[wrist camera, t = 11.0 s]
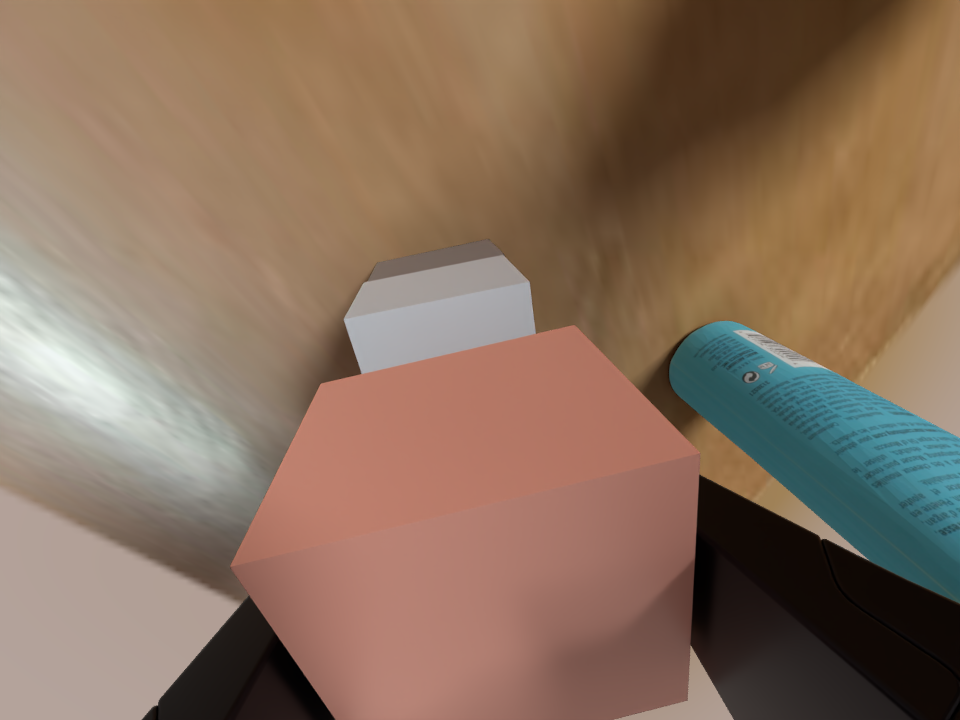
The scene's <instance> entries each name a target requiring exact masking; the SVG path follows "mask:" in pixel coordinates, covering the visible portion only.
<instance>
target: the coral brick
mask: <svg viewBox="0 0 960 720" xmlns="http://www.w3.org/2000/svg"><path fill="white" fill-rule="evenodd" d="M699 469H700V452H699V451H698V450H697V449H696V448H695V447H694V446H693V445H692V444H691V443H690V442H689V441H688V440H687V439H686V438H685V437H684V436H683V435H682V434H681V433H680V432H679V431H678V430H677V429H676V428H675V427H674V426H673V425H672V424H671V423H670V422H669V421H668V420H667V419H666V418H665V417H664V416H663V415H662V414H661V412H660V411H659V410H658V409H657V408H656V407H655V406H654V405H653V404H652V403H651V402H650V401H649V400H648V399H647V398H646V397H645V396H644V395H643V394H642V393H641V392H640V391H639V390H638V389H637V388H636V387H635V386H634V385H633V384H632V383H631V382H630V381H629V380H628V379H627V378H626V377H625V376H624V375H623V374H622V373H621V372H620V371H619V370H618V369H617V368H616V367H615V365H614V364H613V363H612V362H611V361H610V360H609V359H608V358H607V357H606V356H605V355H604V354H603V353H602V352H601V351H600V350H599V349H598V348H597V347H596V346H595V345H594V344H593V343H592V342H591V341H590V340H589V339H588V338H587V337H586V336H585V335H584V334H583V333H582V332H581V331H580V330H579V329H578V328H577V327H576V326H575V325H572V326H567V327H563V328H559V329H555V330H550V331H546V332H542V333H537V334H533V335H529V336H524V337H520V338H516V339H511V340H507V341H503V342H498V343H494V344H490V345H485V346H481V347H477V348H472V349H468V350H464V351H459V352H455V353H451V354H446V355H442V356H438V357H433V358H429V359H425V360H421V361H416V362H412V363H408V364H403V365H399V366H395V367H390V368H386V369H382V370H377V371H373V372H369V373H364V374H360V375H356V376H351V377H347V378H343V379H338V380H334V381H330V382H325V383H321V384H320V386H319V388H318V390H317V392H316V394H315V396H314V398H313V400H312V402H311V404H310V406H309V408H308V410H307V412H306V414H305V416H304V418H303V420H302V422H301V424H300V426H299V428H298V431H297V433H296V435H295V437H294V439H293V441H292V443H291V445H290V447H289V449H288V451H287V453H286V455H285V457H284V459H283V461H282V463H281V465H280V467H279V469H278V471H277V473H276V475H275V477H274V479H273V481H272V483H271V485H270V487H269V489H268V491H267V493H266V495H265V497H264V499H263V501H262V503H261V505H260V507H259V509H258V511H257V513H256V515H255V517H254V519H253V521H252V523H251V525H250V527H249V529H248V531H247V533H246V535H245V537H244V539H243V541H242V543H241V545H240V547H239V549H238V551H237V553H236V555H235V557H234V559H233V561H232V563H231V565H230V568H231V570H232V571H233V572H234V574H235V575H236V577H237V578H238V580H239V581H240V583H241V584H242V585H243V587H244V588H245V590H246V591H247V593H248V594H249V596H250V597H251V598H252V600H253V601H254V603H255V604H256V606H257V607H258V609H259V610H260V611H261V613H262V614H263V616H264V617H265V619H266V620H267V621H268V623H269V624H270V626H271V627H272V629H273V630H274V632H275V633H276V634H277V636H278V637H279V639H280V640H281V642H282V643H283V645H284V646H285V647H286V649H287V650H288V652H289V653H290V655H291V656H292V658H293V659H294V660H295V662H296V663H297V665H298V666H299V668H300V669H301V671H302V672H303V673H304V675H305V676H306V678H307V679H308V681H309V682H310V684H311V685H312V686H313V688H314V689H315V691H316V692H317V694H318V695H319V697H320V698H321V699H322V701H323V702H324V704H325V705H326V707H327V708H328V710H329V711H330V712H331V714H332V715H333V717H334V718H335V720H614V719H618V718H622V717H625V716H629V715H633V714H637V713H641V712H645V711H649V710H653V709H657V708H660V707H664V706H668V705H672V704H676V703H680V702H684V701H687V700H688V681H689V661H690V643H691V624H692V604H693V585H694V566H695V546H696V527H697V508H698V488H699Z"/></svg>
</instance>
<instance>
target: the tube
mask: <svg viewBox="0 0 960 720" xmlns="http://www.w3.org/2000/svg"><path fill="white" fill-rule="evenodd" d="M669 379H670V383H671V386H672V388H673V390H674V391H675V393H676V394H677V395H678V396H679V397H680V398H682V399H683V400H684V401H685V402H686V403H687V404H689V405H690V406H691V407H692V408H693V409H694V410H696V411H697V412H698V413H699V414H700V415H701V416H703V417H704V418H705V419H706V420H707V421H709V422H710V423H711V424H712V425H713V426H714V427H716V428H717V429H718V430H719V431H720V432H721V433H723V434H724V435H725V436H726V437H727V438H729V439H730V440H731V441H732V442H733V443H735V444H736V445H737V446H738V447H739V448H741V449H742V450H743V451H744V452H745V453H746V454H748V455H749V456H750V457H751V458H752V459H753V460H755V461H756V462H757V463H758V464H759V465H760V466H761V467H763V468H764V469H765V470H766V471H767V472H768V473H770V474H771V475H772V476H773V477H774V478H775V479H776V480H778V481H779V482H780V483H781V484H782V485H783V486H784V487H786V488H787V489H788V490H789V491H790V492H791V493H793V494H794V495H795V496H796V497H797V498H798V499H799V500H801V501H802V502H803V503H804V504H805V505H806V506H807V507H808V508H810V509H811V510H812V511H813V512H814V513H815V514H816V515H818V516H819V517H820V518H821V519H822V520H823V521H824V522H826V523H827V524H828V525H829V526H830V527H831V528H833V529H834V530H835V531H836V532H837V533H838V534H839V535H841V536H842V537H843V538H844V539H845V540H847V541H848V542H849V543H850V544H851V545H852V546H853V547H854V548H856V549H857V550H858V551H859V552H860V553H861V554H863V555H864V556H865V557H866V558H867V559H869V561H871V562H873V563H875V564H877V565H879V566H881V567H883V568H885V569H887V570H889V571H891V572H893V573H895V574H897V575H899V576H901V577H903V578H905V579H907V580H910V581H912V582H914V583H916V584H918V585H921V586H923V587H925V588H927V589H929V590H931V591H934V592H936V593H938V594H940V595H942V596H945V597H947V598H949V599H951V600H953V601H956V602H958V603H960V438H958V437H957V436H955V435H953V434H951V433H949V432H947V431H945V430H943V429H941V428H939V427H937V426H936V425H934V424H932V423H930V422H928V421H926V420H924V419H922V418H920V417H918V416H917V415H915V414H913V413H911V412H909V411H907V410H905V409H903V408H901V407H899V406H897V405H895V404H893V403H892V402H890V401H888V400H886V399H884V398H882V397H880V396H878V395H876V394H874V393H872V392H871V391H869V390H867V389H865V388H863V387H861V386H859V385H857V384H855V383H853V382H852V381H850V380H848V379H846V378H844V377H842V376H840V375H838V374H836V373H834V372H833V371H831V370H829V369H827V368H825V367H823V366H821V365H819V364H817V363H815V362H813V361H812V360H810V359H808V358H806V357H804V356H802V355H800V354H798V353H796V352H794V351H792V350H790V349H789V348H787V347H785V346H783V345H781V344H779V343H777V342H775V341H773V340H771V339H769V338H767V337H765V336H763V335H762V334H760V333H758V332H756V331H754V330H752V329H750V328H748V327H746V326H744V325H741V324H739V323H736V322H732V321H719V322H714V323H711V324H708V325H706V326H703V327H701V328H699V329H697V330H696V331H694V332H693V333H691V334H690V335H689V336H688V337H687V338H686V339H685V340H684V341H683V342H682V344H681V345H680V346H679V348H678V349H677V351H676V353H675V354H674V356H673V358H672V360H671V363H670V369H669Z"/></svg>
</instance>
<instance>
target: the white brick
mask: <svg viewBox="0 0 960 720" xmlns="http://www.w3.org/2000/svg"><path fill="white" fill-rule="evenodd" d="M344 322H345V325H346V328H347V331H348V334H349V337H350V340H351V343H352V346H353V349H354V352H355V355H356V358H357V361H358V364H359V367H360V370H361V373H362V374H364V373H369V372H373V371H377V370H382V369H386V368H390V367H395V366H399V365H403V364H408V363H412V362H416V361H421V360H425V359H429V358H433V357H438V356H442V355H446V354H451V353H455V352H459V351H464V350H468V349H472V348H477V347H481V346H485V345H490V344H494V343H498V342H503V341H507V340H511V339H516V338H520V337H524V336H529V335H533V334H536V332H535V324H534V315H533V307H532V298H531V290H530V282H529V281H528V280H527V279H526V278H525V277H524V276H523V275H522V274H521V273H520V272H519V271H518V270H517V269H516V268H515V266H514V265H513V264H512V263H511V262H510V261H509V260H508V259H507V258H506V257H505V256H504V255H500V256H495V257H490V258H484V259H479V260H474V261H469V262H464V263H459V264H454V265H449V266H444V267H439V268H434V269H429V270H424V271H419V272H414V273H409V274H404V275H399V276H394V277H389V278H384V279H379V280H374V281H369V282H364V283H363V285H362V287H361V288H360V290H359V292H358V294H357V296H356V298H355V299H354V301H353V303H352V305H351V307H350V308H349V310H348V312H347V314H346V316H345V318H344Z"/></svg>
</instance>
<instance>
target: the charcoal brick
mask: <svg viewBox="0 0 960 720" xmlns="http://www.w3.org/2000/svg"><path fill="white" fill-rule="evenodd" d="M500 255H504V254H503V253H502V252H501V251H500V250H499V249H498V248H497V247H496V246H495V245H494V244H493V243H492V242H491V241H490V240H489V239H486V240H481V241H477V242H472V243H467V244H463V245H458V246H453V247H449V248H444V249H439V250H435V251H430V252H425V253H421V254H416V255H411V256H407V257H402V258H397V259H393V260H388V261H383V262H379V263H377V264H376V266H375V268H374V270H373V272H372V274H371V275H370V277H369V279H368V281H367V282H369V281H374V280H379V279H384V278H389V277H394V276H399V275H404V274H409V273H414V272H419V271H424V270H429V269H434V268H439V267H444V266H449V265H454V264H459V263H464V262H469V261H474V260H479V259H484V258H490V257H495V256H500Z"/></svg>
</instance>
